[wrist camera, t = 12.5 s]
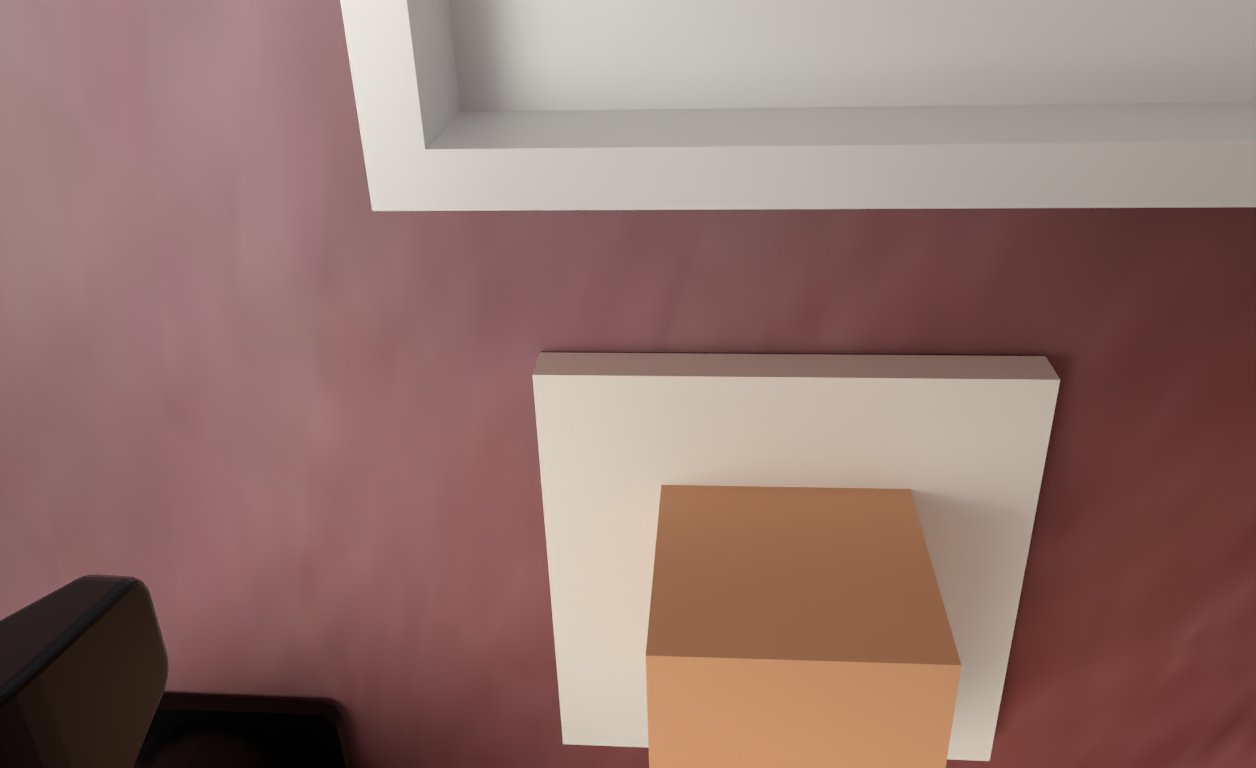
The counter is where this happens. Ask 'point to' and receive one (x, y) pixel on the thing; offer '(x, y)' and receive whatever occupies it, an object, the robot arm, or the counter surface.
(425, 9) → the white square tray
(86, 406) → the counter surface
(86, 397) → the counter surface
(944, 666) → the terracotta block
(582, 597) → the ceramic coaster
